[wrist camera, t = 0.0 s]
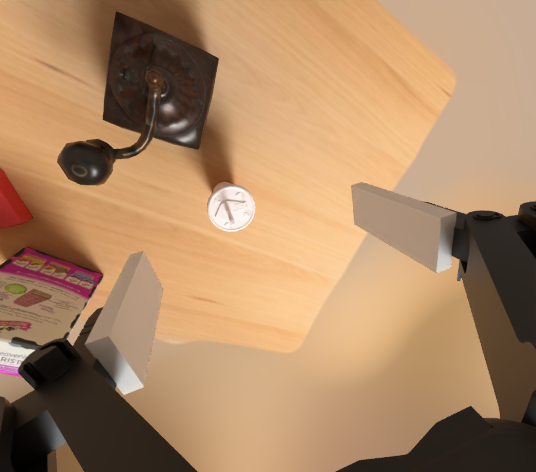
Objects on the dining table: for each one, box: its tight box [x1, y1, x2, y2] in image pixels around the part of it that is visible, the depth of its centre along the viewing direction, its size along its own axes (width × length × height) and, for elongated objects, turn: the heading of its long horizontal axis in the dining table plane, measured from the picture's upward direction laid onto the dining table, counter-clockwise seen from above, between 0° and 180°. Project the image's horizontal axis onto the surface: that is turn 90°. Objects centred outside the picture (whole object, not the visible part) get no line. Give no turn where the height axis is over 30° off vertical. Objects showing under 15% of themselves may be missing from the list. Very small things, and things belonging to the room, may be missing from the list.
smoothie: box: [207, 182, 255, 231], centre depth 36 cm, size 6×6×14 cm
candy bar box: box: [0, 247, 103, 377], centre depth 33 cm, size 11×5×16 cm, turn 55°
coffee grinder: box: [57, 12, 219, 185], centre depth 28 cm, size 16×11×18 cm
